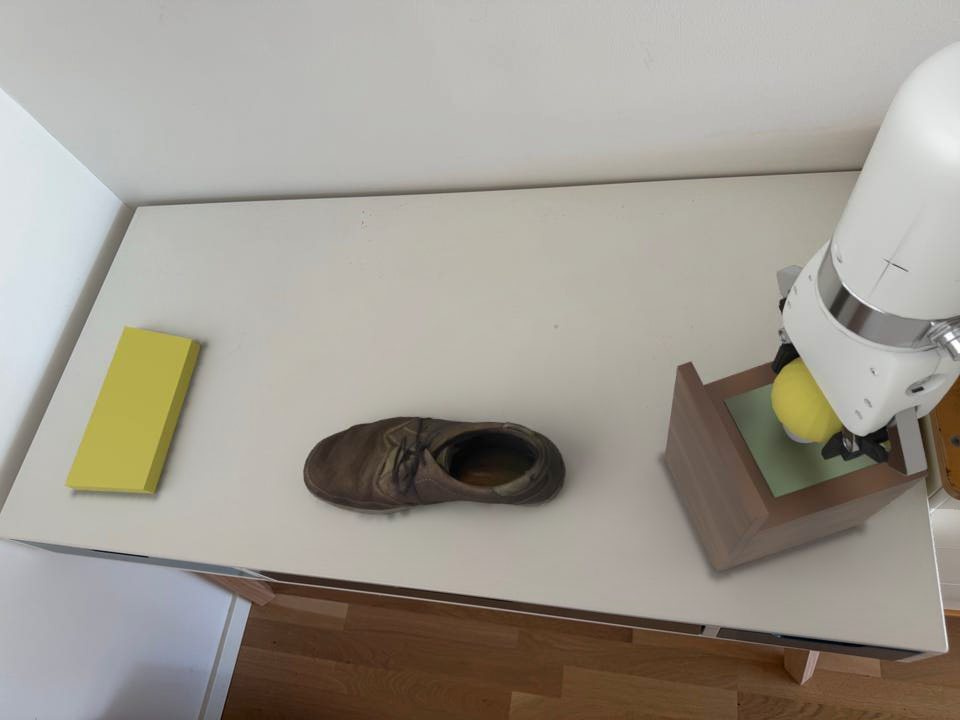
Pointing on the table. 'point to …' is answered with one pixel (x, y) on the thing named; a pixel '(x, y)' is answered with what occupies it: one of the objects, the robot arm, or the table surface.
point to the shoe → (433, 465)
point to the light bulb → (803, 405)
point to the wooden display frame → (762, 471)
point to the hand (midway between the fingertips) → (816, 405)
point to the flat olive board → (135, 414)
